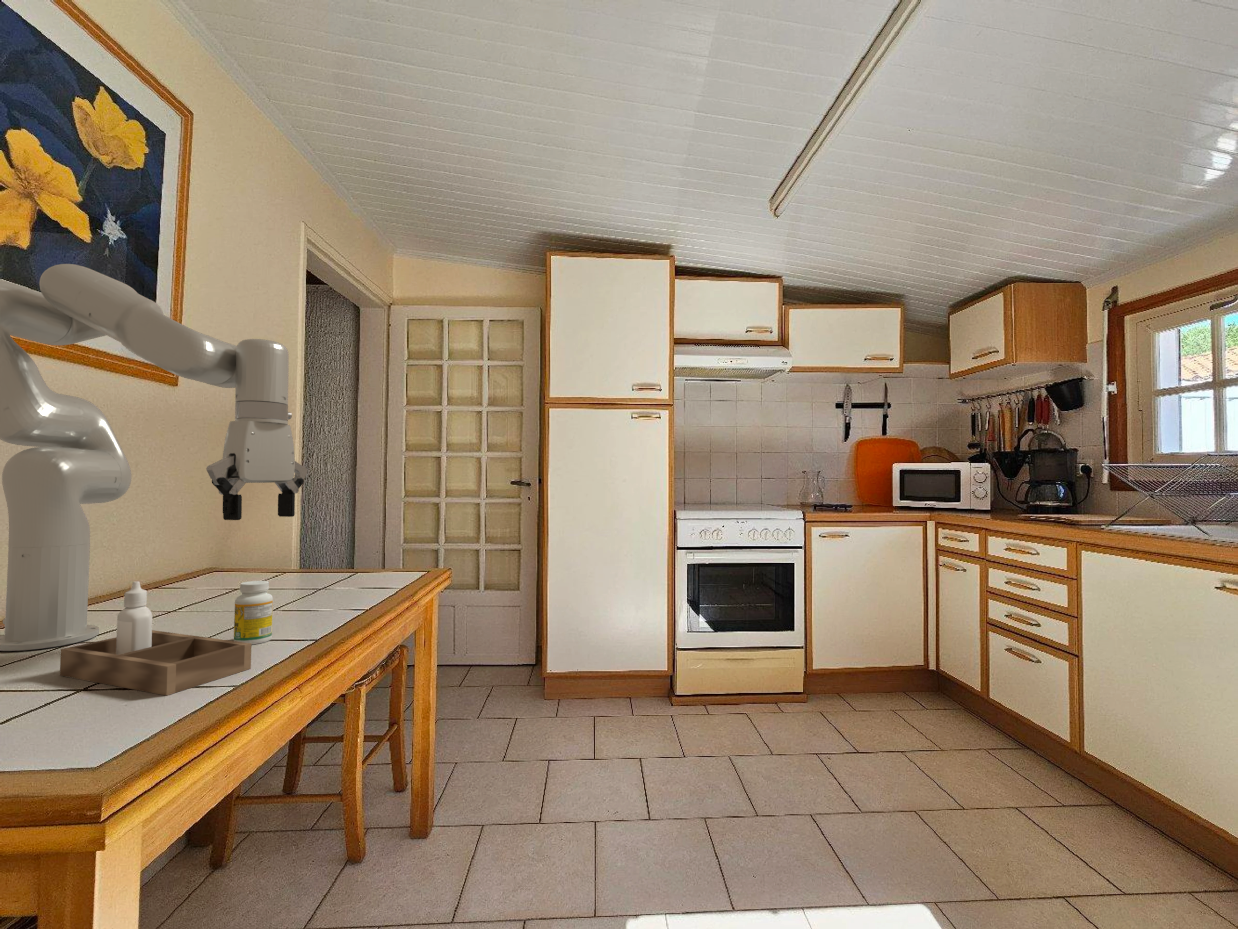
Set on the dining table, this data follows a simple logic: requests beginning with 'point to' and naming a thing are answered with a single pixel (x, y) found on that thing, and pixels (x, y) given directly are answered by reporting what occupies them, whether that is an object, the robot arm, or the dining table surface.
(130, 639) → the eye dropper bottle
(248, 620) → the supplement bottle
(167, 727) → the dining table surface
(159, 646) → the walnut rack
